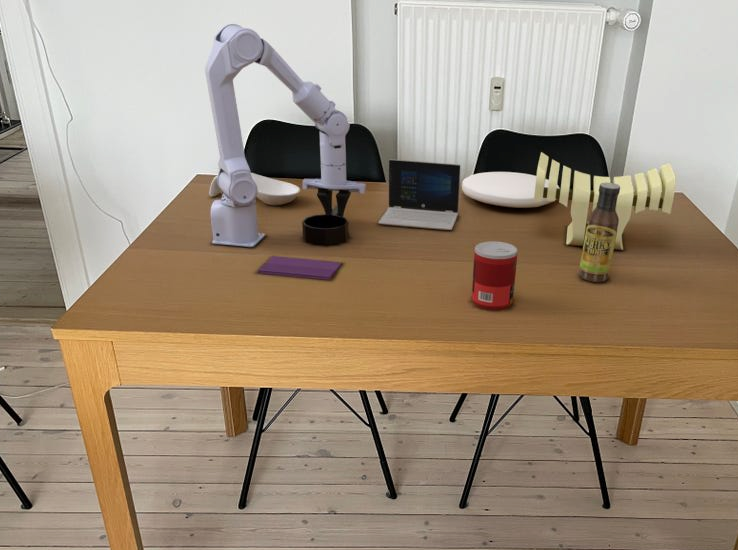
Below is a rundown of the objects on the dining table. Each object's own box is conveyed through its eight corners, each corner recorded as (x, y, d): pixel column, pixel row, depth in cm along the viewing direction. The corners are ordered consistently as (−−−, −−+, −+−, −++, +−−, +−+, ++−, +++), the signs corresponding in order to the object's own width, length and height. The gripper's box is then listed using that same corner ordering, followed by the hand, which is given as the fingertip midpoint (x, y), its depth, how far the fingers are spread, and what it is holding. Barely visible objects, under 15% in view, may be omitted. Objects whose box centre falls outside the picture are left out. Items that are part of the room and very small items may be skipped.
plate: (471, 164, 211) (563, 174, 207) (470, 187, 214) (560, 197, 210) (453, 179, 186) (558, 190, 182) (452, 205, 188) (555, 216, 184)
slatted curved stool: (529, 245, 168) (537, 168, 160) (533, 223, 182) (541, 151, 174) (661, 258, 165) (677, 180, 156) (655, 235, 178) (669, 162, 170)
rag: (257, 273, 147) (257, 270, 147) (273, 257, 155) (272, 254, 155) (329, 280, 146) (329, 277, 146) (341, 263, 154) (341, 261, 153)
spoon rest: (307, 197, 193) (305, 170, 189) (291, 211, 183) (289, 182, 179) (222, 189, 196) (219, 163, 192) (202, 202, 186) (198, 174, 182)
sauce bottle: (575, 280, 151) (588, 185, 142) (582, 270, 156) (595, 178, 147) (605, 286, 149) (621, 190, 139) (612, 276, 154) (627, 183, 145)
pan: (341, 247, 162) (340, 230, 160) (297, 243, 163) (296, 226, 161) (360, 223, 177) (360, 206, 175) (320, 219, 178) (319, 203, 176)
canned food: (518, 308, 138) (523, 254, 133) (478, 312, 136) (482, 257, 130) (504, 292, 144) (509, 239, 139) (466, 295, 142) (469, 242, 137)
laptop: (377, 225, 176) (377, 171, 169) (388, 209, 187) (388, 158, 180) (451, 232, 174) (454, 178, 168) (458, 215, 185) (460, 164, 179)
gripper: (368, 161, 169) (369, 217, 176) (307, 156, 170) (310, 212, 177) (361, 169, 163) (362, 227, 170) (298, 164, 164) (301, 221, 171)
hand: (335, 220), depth 173 cm, fingers closed on pan, 2 cm apart
